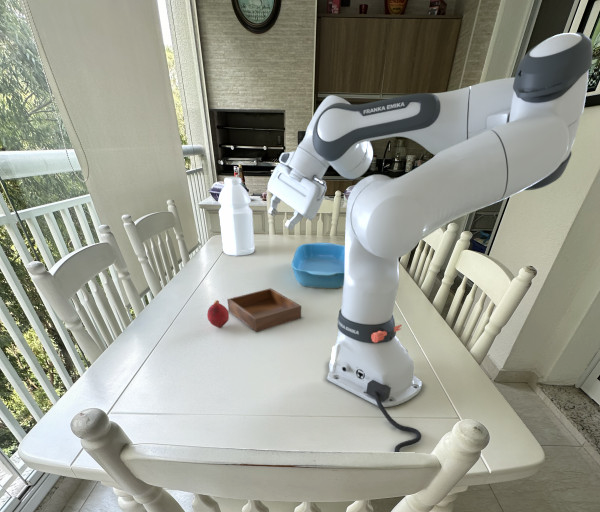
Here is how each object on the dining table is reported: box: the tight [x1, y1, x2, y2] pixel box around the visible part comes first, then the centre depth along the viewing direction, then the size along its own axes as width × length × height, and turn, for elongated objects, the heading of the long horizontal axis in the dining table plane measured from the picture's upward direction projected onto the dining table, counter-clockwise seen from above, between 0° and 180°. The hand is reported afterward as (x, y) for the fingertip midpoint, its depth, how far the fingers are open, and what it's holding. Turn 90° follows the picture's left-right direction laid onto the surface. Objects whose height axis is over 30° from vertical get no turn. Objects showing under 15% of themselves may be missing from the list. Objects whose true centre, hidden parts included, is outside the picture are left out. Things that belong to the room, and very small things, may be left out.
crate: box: [226, 287, 302, 333], centre depth 106 cm, size 17×16×4 cm
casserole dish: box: [291, 242, 345, 289], centre depth 133 cm, size 37×22×7 cm, turn 175°
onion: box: [206, 299, 230, 329], centre depth 98 cm, size 6×6×8 cm
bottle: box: [217, 176, 256, 257], centre depth 148 cm, size 14×14×28 cm
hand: (279, 221), depth 96 cm, fingers open, 8 cm apart
